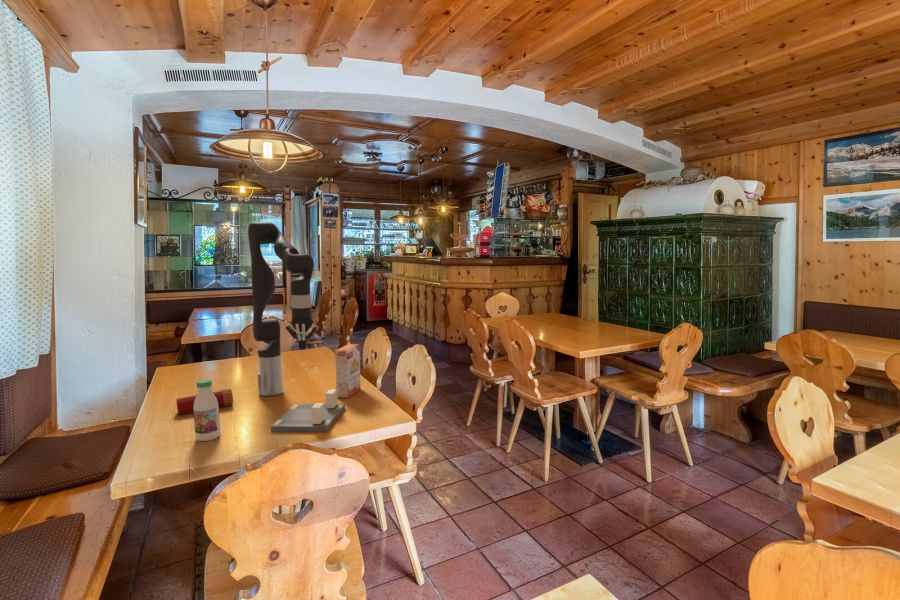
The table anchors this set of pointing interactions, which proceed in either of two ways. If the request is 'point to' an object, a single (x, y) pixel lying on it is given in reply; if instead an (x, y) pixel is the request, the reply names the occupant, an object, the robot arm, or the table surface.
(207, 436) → the milk bottle
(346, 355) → the cracker box
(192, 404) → the red tube
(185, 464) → the table surface
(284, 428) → the breaker panel
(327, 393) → the handle
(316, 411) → the beige rectangular block
